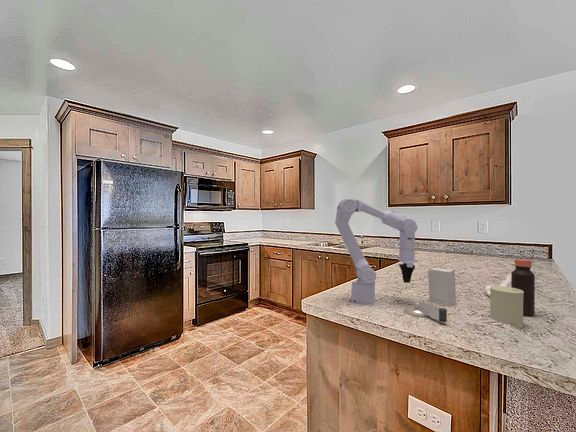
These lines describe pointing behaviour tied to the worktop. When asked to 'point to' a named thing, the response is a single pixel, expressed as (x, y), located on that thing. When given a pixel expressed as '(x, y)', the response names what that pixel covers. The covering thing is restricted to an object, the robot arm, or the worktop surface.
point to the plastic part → (505, 283)
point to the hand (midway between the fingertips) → (406, 282)
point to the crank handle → (426, 311)
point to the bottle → (524, 284)
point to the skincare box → (442, 286)
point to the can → (507, 305)
